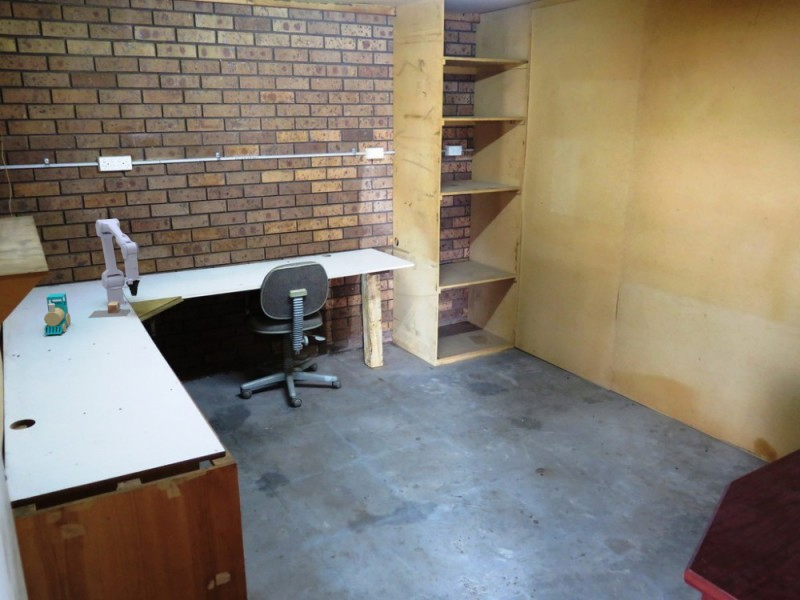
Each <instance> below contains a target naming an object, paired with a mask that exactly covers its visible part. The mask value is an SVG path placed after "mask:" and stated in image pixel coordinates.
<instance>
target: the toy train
mask: <svg viewBox="0 0 800 600" xmlns="http://www.w3.org/2000/svg"><path fill="white" fill-rule="evenodd" d="M67 298H68V297H67V292H65V293H63V292H62V293H50V294H48V295H47V296H46V304H47V313H46V314H44V317H43V320H44V323H45V325H44V335H45V336H46V335H61V334H62V333H66V332H67V328H68V327H70V326H71V325H72V324H71V323H72V322H71V314H70V313H69V308H68V300H67ZM56 300H57V301H56Z"/></svg>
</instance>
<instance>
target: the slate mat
mask: <svg viewBox="0 0 800 600" xmlns="http://www.w3.org/2000/svg"><path fill="white" fill-rule="evenodd" d="M130 309H131V308H129V309H127V308H125V309H120V310H119V311H118V312H117V313H108V309H105V310H104V309H102V310H99V309H98V310H94V311H92V313H91V314H90V315H89V316H88V317H87V318H88V319H94V318H98V319H99V318H115V317H119V318H121V317H127V316H128V315H129V313H130V312H131V311H130Z"/></svg>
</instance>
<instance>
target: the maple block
mask: <svg viewBox="0 0 800 600" xmlns="http://www.w3.org/2000/svg"><path fill="white" fill-rule="evenodd" d="M107 304H108V303H107ZM107 304H106V305H107ZM107 310H108V313H117V312H118V311H119V310H121V306H120V303H119V301H115V302H110V303H109V304H108V305H107Z"/></svg>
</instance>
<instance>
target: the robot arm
mask: <svg viewBox="0 0 800 600" xmlns="http://www.w3.org/2000/svg"><path fill="white" fill-rule="evenodd" d="M95 230H96V231H95V232H96V235H97V237H98V238H100V241H101V245H102V252H103V257H104V263H105V271H103V272H102V273H101V286H102V287H103V288H104V289H105V290H106V297H107V304H106V305H105V307H107V305H108V304H109V303H110V302H115V301H119V303H120V307H123V306H124V305H125V304H126V303H127V301H126V300H125V297H124V289H123V288H124V286H125V285H127V287H128V290H129V292H130V295H131V297H136V296H137V294H138V287H139V284H140V283H141V279H142V277H143V276H141V275H140V274H139V273H140V272H139V265H138V264H139V263H138V254H139V252H140V251H139V250H140V249H139V244H138V243H137V242H136V241H132V240H131V239H130V237H129V236H128V235H127V234H125V233H123V232H122V230H121V224H120V220H119V219H117V218H116V217H115V218H109V219H97V220H96V221H95ZM113 237H115V242H116V243H117V245H118V246H119V247H120V252H121V254H122V255H121V256H122V259H123V260H124V270H125V275H124V272H123V271H122V270H120V269H119V268H118V266H117V261H116V255H115V250H114V248H115V247H114V244H113V243H114V242H113ZM125 302H126V303H125ZM107 308H108V307H107Z"/></svg>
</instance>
